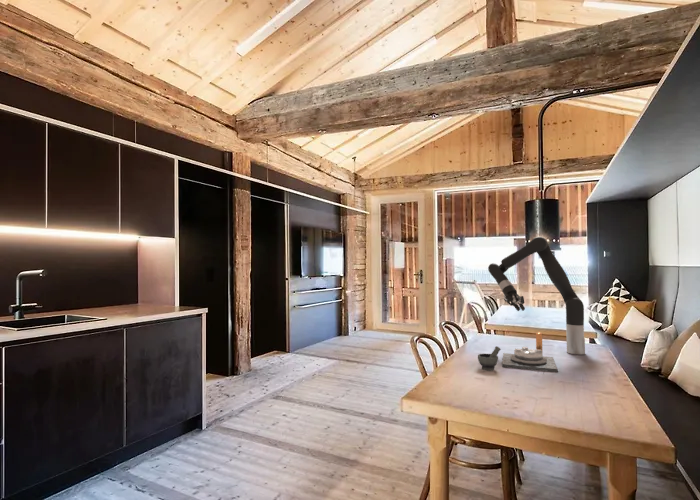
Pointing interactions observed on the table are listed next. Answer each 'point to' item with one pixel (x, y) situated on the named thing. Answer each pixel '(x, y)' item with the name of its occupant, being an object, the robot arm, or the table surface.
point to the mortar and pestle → (489, 359)
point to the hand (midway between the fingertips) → (521, 309)
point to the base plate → (531, 367)
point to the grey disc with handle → (531, 351)
